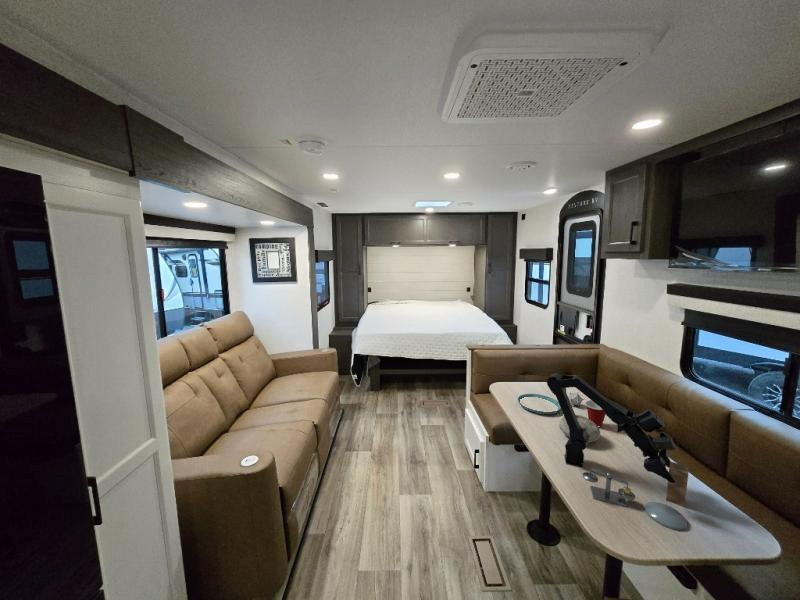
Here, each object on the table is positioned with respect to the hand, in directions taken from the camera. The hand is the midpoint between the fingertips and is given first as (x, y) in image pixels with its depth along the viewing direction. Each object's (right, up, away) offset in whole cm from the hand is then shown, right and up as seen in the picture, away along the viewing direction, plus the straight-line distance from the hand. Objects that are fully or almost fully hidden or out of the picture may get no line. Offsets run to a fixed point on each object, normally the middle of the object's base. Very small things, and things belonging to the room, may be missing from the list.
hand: (673, 475), depth 115 cm
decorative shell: (-11, -4, +42) cm, 44 cm away
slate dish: (-9, -10, -7) cm, 16 cm away
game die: (+6, 0, +77) cm, 77 cm away
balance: (-24, -9, +2) cm, 25 cm away
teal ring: (-17, 0, +75) cm, 77 cm away
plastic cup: (+4, -3, +54) cm, 54 cm away
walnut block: (+1, -9, 0) cm, 9 cm away
